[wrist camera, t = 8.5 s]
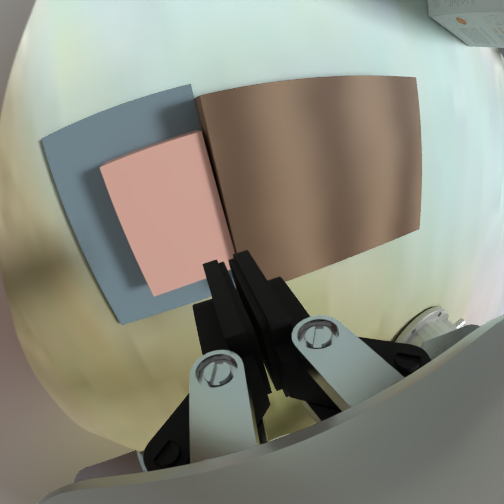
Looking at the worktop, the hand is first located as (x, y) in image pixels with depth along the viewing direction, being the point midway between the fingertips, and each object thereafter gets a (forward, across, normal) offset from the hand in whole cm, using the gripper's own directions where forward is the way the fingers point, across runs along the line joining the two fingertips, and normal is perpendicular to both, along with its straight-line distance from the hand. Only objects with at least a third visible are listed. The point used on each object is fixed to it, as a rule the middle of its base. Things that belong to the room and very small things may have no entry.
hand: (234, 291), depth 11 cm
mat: (+10, +4, -1) cm, 11 cm away
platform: (+10, -9, -1) cm, 14 cm away
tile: (+9, +2, -1) cm, 9 cm away
